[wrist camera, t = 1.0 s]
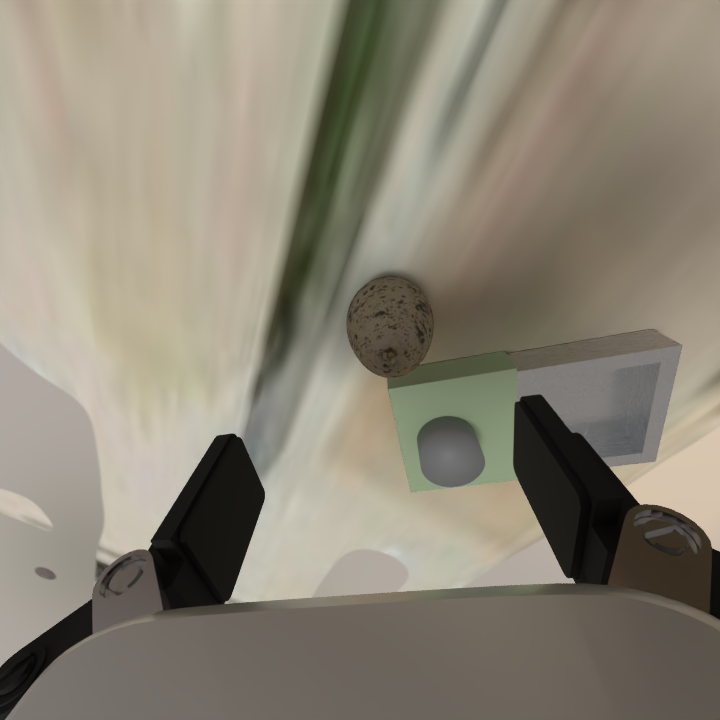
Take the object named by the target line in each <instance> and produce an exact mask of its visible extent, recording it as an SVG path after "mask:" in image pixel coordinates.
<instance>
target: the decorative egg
mask: <svg viewBox="0 0 720 720" xmlns="http://www.w3.org/2000/svg"><path fill="white" fill-rule="evenodd" d="M433 325H434V323H433V314H432V310H431V307H430V304H429V302H428V300H427V298H426V297H425V295H424V294H423V293H422V291H421V290H420V289H419V288H418V287H416V286H415V285H414V284H412V283H411V282H409V281H407V280H404V279H401V278H397V277H383V278H379V279H376V280H373V281H371V282H369V283H367V284H366V285H365V286H363V287H362V288H361V289H360V290H359V291H358V292H357V294H356V295H355V296H354V298H353V300H352V302H351V304H350V306H349V310H348V314H347V334H348V338H349V342H350V345H351V347H352V349H353V351H354V353H355V355H356V356H357V358H358V359H359V360H360V362H361V363H362V364H363V365H364V366H365V367H366V368H367V369H368V370H370V371H371V372H373V373H375V374H377V375H379V376H382V377H387V378H396V377H401V376H404V375H406V374H408V373H410V372H411V371H413V370H414V369H415V368H416V367H417V366H418V365H419V364H420V363H421V361H422V360H423V359H424V357H425V355H426V353H427V351H428V349H429V346H430V344H431V340H432V336H433Z"/></svg>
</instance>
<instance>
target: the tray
mask: <svg viewBox="0 0 720 720" xmlns="http://www.w3.org/2000/svg"><path fill="white" fill-rule="evenodd" d="M681 349H682V345H681V344H680V343H678V342H676V341H674V340H672V339H670V338H668V337H667V336H665V335H663V334H661V333H659V332H657V331H655V330H654V329H649V330H643V331H638V332H632V333H626V334H620V335H614V336H608V337H602V338H596V339H590V340H584V341H578V342H572V343H566V344H561V345H555V346H549V347H543V348H537V349H531V350H525V351H519V352H513V353H507V355H508V357H509V358H510V359H511V361H512V362H513V363H514V365H515V366H516V368H517V398H518V401H520V398H521V397H522V396H529V395H537V394H541V395H542V396H543V397H544V398H545V399H546V401H547V402H548V403H549V405H550V406H551V407H552V408H553V410H554V411H555V412H556V413H557V415H558V416H559V417H560V418H561V420H562V421H563V422H564V423H565V425H566V426H567V427H568V428H569V430H570V431H571V432H572V433H575V432H577V433H580V434H581V435H582V436H583V437H584V438H585V439H586V440H587V441H588V443H589V444H590V445H591V446H592V447H593V449H594V450H595V451H596V452H597V454H598V455H599V456H600V457H601V458H602V460H603V461H604V462H605V463H606V464H607V466H608V467H612V466H621V465H629V464H638V463H646V462H655V461H656V457H657V452H658V448H659V444H660V439H661V435H662V431H663V427H664V422H665V418H666V414H667V409H668V405H669V401H670V397H671V392H672V388H673V384H674V379H675V375H676V371H677V366H678V362H679V358H680V354H681Z"/></svg>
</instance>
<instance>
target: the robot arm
mask: <svg viewBox="0 0 720 720" xmlns="http://www.w3.org/2000/svg"><path fill="white" fill-rule="evenodd" d="M513 467H514V471H515V474H516V476H517V478H518V481H519V483H520V485H521V487H522V489H523V491H524V493H525V495H526V497H527V499H528V501H529V503H530V505H531V507H532V509H533V511H534V513H535V515H536V517H537V520H538V522H539V524H540V526H541V528H542V530H543V532H544V534H545V536H546V538H547V540H548V542H549V544H550V546H551V548H552V550H553V552H554V554H555V556H556V559H557V560H558V563H559V565H560V567H561V569H562V571H563V573H564V574H565V576H566V577H567V578H573V579H574V581H575V583H576V584H533V585H513V586H512V585H511V586H490V587H474V588H456V589H440V590H423V591H407V592H392V593H378V594H377V593H376V594H361V595H347V596H332V597H316V598H302V599H288V600H274V601H260V602H246V603H233V604H225V601H228V600H229V599H230V597H231V595H232V592H233V589H234V586H235V584H236V581H237V578H238V575H239V572H240V569H241V566H242V563H243V561H244V558H245V555H246V552H247V549H248V546H249V543H250V540H251V537H252V535H253V532H254V529H255V526H256V523H257V520H258V517H259V514H260V511H261V509H262V506H263V503H264V499H265V491H264V488H263V486H262V484H261V482H260V479H259V477H258V475H257V473H256V470H255V468H254V466H253V463H252V461H251V459H250V457H249V454H248V452H247V450H246V448H245V445H244V443H243V441H242V439H241V438H240V437H237V436H236V435H235V434H226V435H218V436H216V438H215V439H214V440H213V442H212V444H211V445H210V447H209V448H208V450H207V452H206V453H205V455H204V456H203V458H202V460H201V461H200V463H199V464H198V466H197V468H196V469H195V471H194V472H193V474H192V476H191V477H190V479H189V480H188V482H187V484H186V485H185V487H184V488H183V490H182V492H181V493H180V495H179V496H178V498H177V500H176V501H175V503H174V504H173V506H172V508H171V509H170V511H169V512H168V514H167V516H166V517H165V519H164V520H163V522H162V524H161V525H160V527H159V528H158V530H157V532H156V533H155V535H154V536H153V538H152V539H151V543H152V545H151V546H150V548H149V550H148V551H147V550H135V551H131V552H129V553H127V554H125V555H123V556H121V557H120V558H118V559H117V560H116V561H114V562H113V563H112V564H111V565H110V566H109V567H108V568H107V569H106V570H105V571H104V572H103V573H102V574H101V576H100V577H99V578H98V580H97V582H96V584H95V586H94V589H93V594H92V599H91V600H90V601H88V603H86V604H84V605H83V606H82V607H80V608H79V609H77V610H76V611H74V612H73V613H72V614H70V615H69V616H67V617H66V618H64V619H63V620H62V621H60V622H59V623H57V624H56V625H55V626H53V627H52V628H50V629H49V630H47V631H46V632H45V633H43V634H42V635H40V636H39V637H38V638H36V639H35V640H33V641H32V642H31V643H29V644H28V645H26V646H25V647H23V648H22V649H21V650H19V651H18V652H17V653H15V654H14V655H13V656H12V657H10V658H9V659H8V660H7V661H6V662H5V663H4V664H3V665H2V666H1V667H0V720H720V552H719V551H717V550H714V549H712V547H711V542H710V540H709V538H708V537H707V535H706V534H705V532H704V531H703V530H702V529H701V528H700V527H699V526H698V525H697V524H696V523H695V522H693V521H692V520H690V519H689V518H687V517H686V516H684V515H683V514H681V513H678V512H676V511H674V510H672V509H669V508H665V507H662V506H658V505H648V504H644V505H640V504H639V503H638V502H637V501H636V500H635V498H634V497H633V496H632V495H631V493H630V492H629V491H628V490H627V488H626V487H625V486H624V485H623V484H622V482H621V481H620V480H619V479H618V478H617V476H616V475H615V474H614V473H613V472H612V470H611V469H610V468H609V467H608V466H607V464H606V463H605V462H604V461H603V460H602V458H601V457H600V456H599V455H598V454H597V452H596V451H595V450H594V449H593V447H592V446H591V445H590V444H589V443H588V441H587V440H586V439H585V438H584V437H583V436H582V435H581V434H580V433H577V432H575V433H572V432H571V431H570V430H569V428H568V427H567V426H566V425H565V423H564V422H563V421H562V420H561V418H560V417H559V416H558V415H557V413H556V412H555V411H554V410H553V408H552V407H551V406H550V405H549V403H548V402H547V401H546V399H545V398H544V397H543V396H542V395H541V394H537V395H529V396H522V397H521V398H520V401H518V402H515V406H514V443H513Z"/></svg>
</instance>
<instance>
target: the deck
mask: <svg viewBox="0 0 720 720" xmlns="http://www.w3.org/2000/svg"><path fill="white" fill-rule="evenodd" d="M387 382H388V392H389V397H390V401H391V406H392V410H393V415H394V419H395V424H396V428H397V433H398V437H399V442H400V446H401V451H402V456H403V460H404V465H405V469H406V474H407V478H408V483H409V487H410V492H418V491H426V490H435V489H443V488H452V487H461V486H469V485H478V484H487V483H495V482H504V481H512V480H518V478H517V476H516V474H515V471H514V467H513V443H514V406H515V402H518V398H517V368H516V366H515V365H514V363H513V362H512V361H511V359H510V358H509V357H508V355H507V354H506V353H505V351H501V352H495V353H489V354H483V355H477V356H471V357H465V358H459V359H454V360H448V361H442V362H436V363H430V364H424V365H418V366H417V367H416V368H415V369H414V370H413V371H411V372H410V373H408V374H406V375H404V376H401V377H396V378H387Z"/></svg>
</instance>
